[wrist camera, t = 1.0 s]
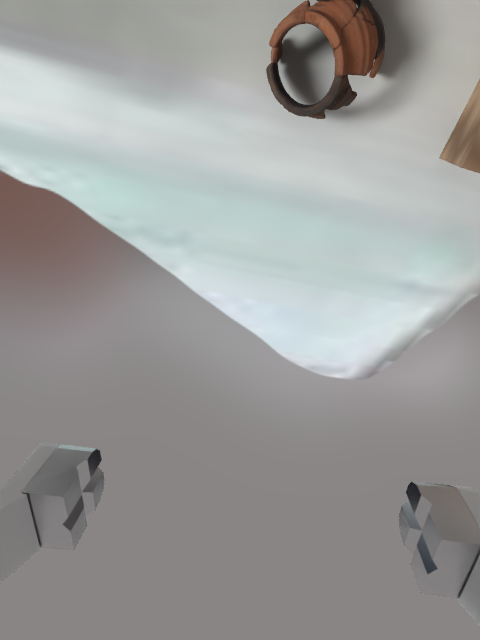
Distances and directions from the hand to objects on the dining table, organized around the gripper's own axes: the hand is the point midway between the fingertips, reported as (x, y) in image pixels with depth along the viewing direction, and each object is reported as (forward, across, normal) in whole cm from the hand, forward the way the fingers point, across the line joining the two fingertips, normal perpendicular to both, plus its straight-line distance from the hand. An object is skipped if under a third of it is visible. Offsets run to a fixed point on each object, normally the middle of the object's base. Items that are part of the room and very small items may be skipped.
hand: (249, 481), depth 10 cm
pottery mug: (+34, -4, -18) cm, 39 cm away
